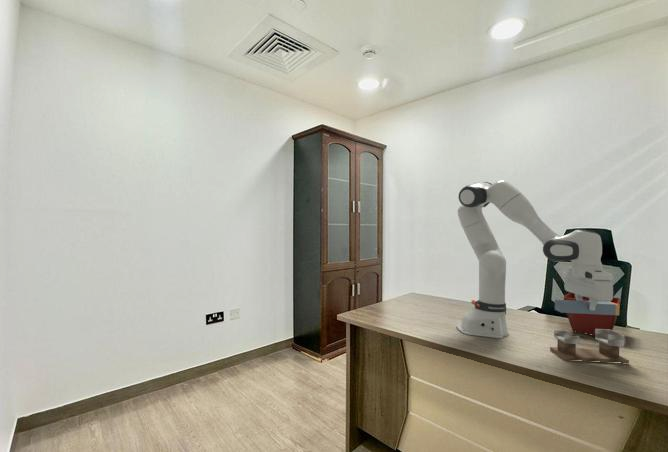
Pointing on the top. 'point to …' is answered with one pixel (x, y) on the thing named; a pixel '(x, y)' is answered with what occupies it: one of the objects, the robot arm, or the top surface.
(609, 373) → the top surface
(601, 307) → the rail
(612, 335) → the stand
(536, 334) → the top surface
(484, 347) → the top surface
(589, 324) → the plant pot
